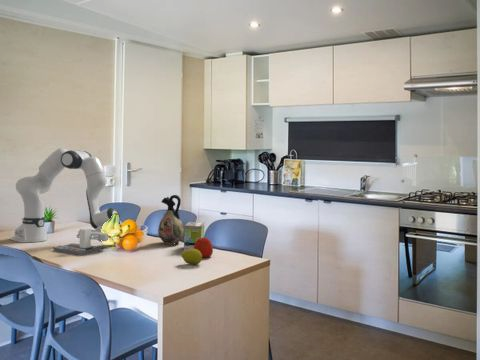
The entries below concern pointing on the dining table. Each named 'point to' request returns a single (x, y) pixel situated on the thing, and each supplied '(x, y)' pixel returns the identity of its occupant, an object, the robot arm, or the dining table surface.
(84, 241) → the fader knob
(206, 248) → the apple
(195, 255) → the lemon
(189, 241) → the tea box
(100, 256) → the dining table surface
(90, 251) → the console
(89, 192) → the robot arm
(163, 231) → the ceramic jug
